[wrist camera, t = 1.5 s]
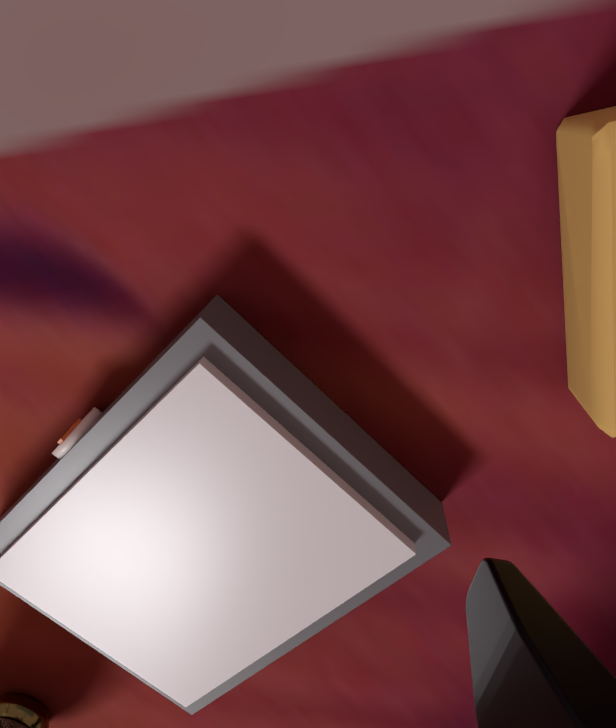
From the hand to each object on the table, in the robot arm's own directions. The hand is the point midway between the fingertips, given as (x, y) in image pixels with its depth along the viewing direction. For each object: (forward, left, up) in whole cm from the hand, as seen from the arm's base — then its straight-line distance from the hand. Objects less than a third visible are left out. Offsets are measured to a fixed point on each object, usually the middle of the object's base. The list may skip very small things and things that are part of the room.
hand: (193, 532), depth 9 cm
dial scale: (-5, +10, -14) cm, 18 cm away
